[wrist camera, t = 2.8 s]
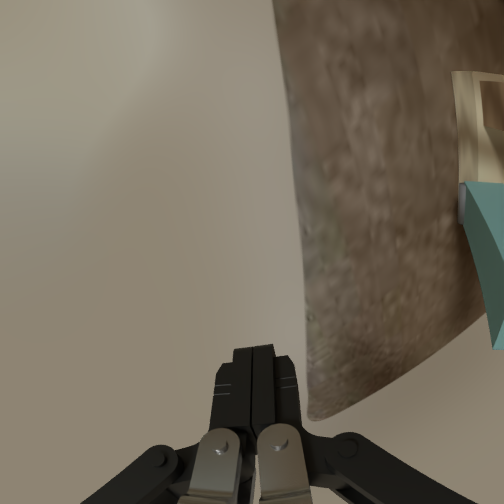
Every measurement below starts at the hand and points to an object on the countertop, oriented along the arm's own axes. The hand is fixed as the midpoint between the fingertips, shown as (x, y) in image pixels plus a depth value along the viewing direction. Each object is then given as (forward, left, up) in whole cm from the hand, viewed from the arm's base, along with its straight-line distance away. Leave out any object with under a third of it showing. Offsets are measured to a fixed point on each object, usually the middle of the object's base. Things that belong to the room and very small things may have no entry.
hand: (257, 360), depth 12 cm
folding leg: (0, +19, -12) cm, 22 cm away
